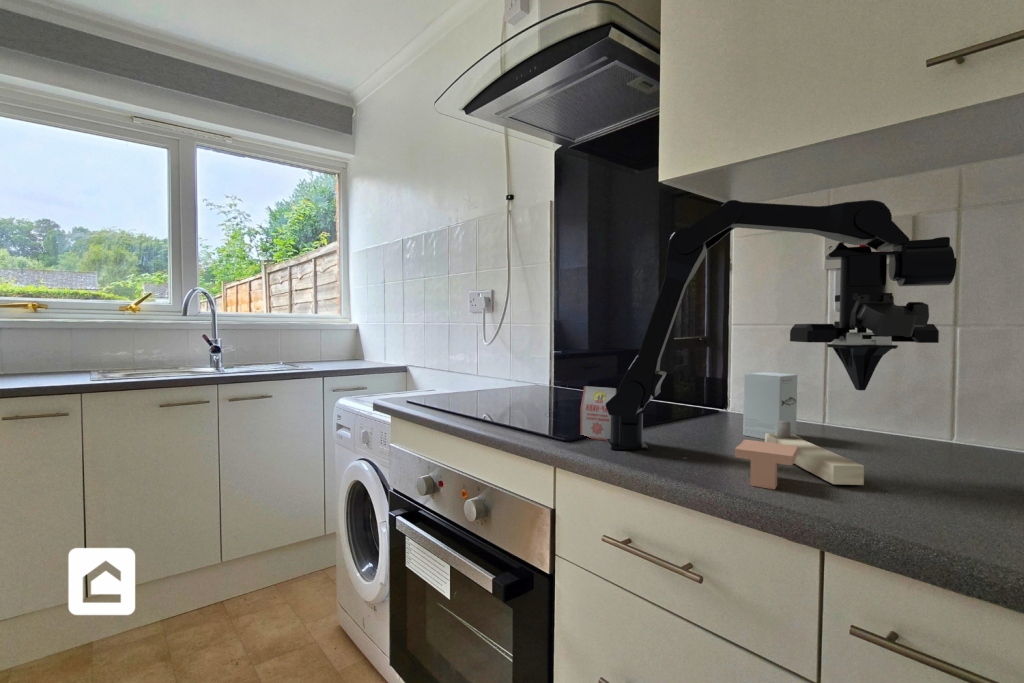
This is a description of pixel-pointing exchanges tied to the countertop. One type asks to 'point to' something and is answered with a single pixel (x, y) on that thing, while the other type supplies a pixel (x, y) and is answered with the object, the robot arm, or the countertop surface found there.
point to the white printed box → (596, 412)
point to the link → (819, 458)
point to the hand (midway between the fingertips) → (860, 390)
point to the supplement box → (769, 403)
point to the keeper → (765, 460)
